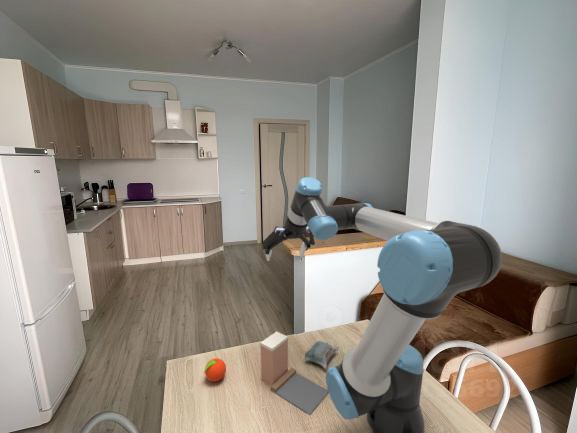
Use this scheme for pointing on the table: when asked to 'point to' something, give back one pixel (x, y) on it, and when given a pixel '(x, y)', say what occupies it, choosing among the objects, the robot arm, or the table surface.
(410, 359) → the robot arm
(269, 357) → the terracotta block
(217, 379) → the clementine
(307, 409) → the mat
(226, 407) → the table surface
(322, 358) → the packaged food
